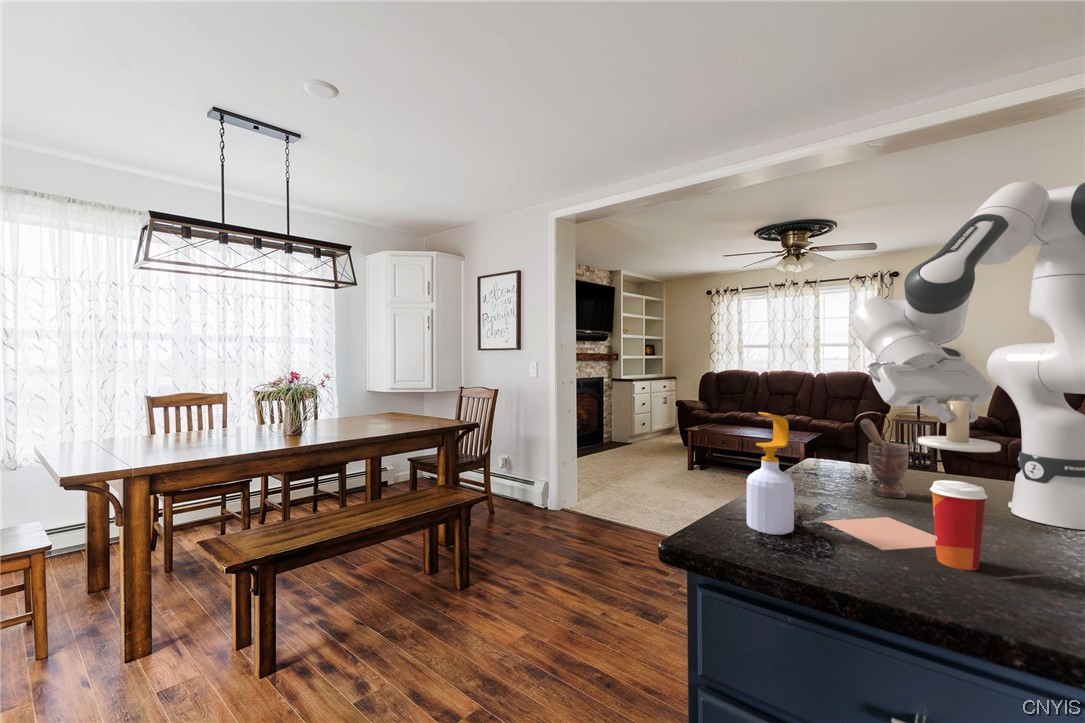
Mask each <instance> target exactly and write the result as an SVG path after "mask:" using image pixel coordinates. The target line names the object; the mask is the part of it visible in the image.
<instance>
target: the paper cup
mask: <svg viewBox="0 0 1085 723" xmlns="http://www.w3.org/2000/svg"><path fill="white" fill-rule="evenodd" d="M929 491H931V493H932V510H933V511H932V513H933V525H934V528H933V529H934V536H935V544H936V547H935V553H936V556H935V557H936V561H937V562H939V563H940V564H942V565H944V566H947V567H950V568H954V569H959V570H963V571H976V570H979V569H980V561H981V551H982V540H983V530H984V529H983V528H984V516H985V515H984V514H985V502H986V499H988V495H987V494H986V492H985V489H984V487H982V486H979V485H976V484H974V483H973V484H972V483H971V484H970V483H969V482H963V481H958V480H946V479H945V480H942V479H941V480H935V481H933V482H932V486H931V487H930V488H929Z"/></svg>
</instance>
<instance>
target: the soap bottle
mask: <svg viewBox="0 0 1085 723" xmlns="http://www.w3.org/2000/svg"><path fill="white" fill-rule="evenodd" d="M758 415H762V416H765V417H768V418H770V419H771V421H772V426H773V427H772V428H773V429H772V430H773V432H772V433H773V434H772V436H773V437H772V441H769V442H756V443H755V446H758V447H760V448H762V450H763V451H764V452H765V456H761V460H760V461H761V462H760V463H761V466H760V468H759V469H756V470H754V471H753V472H752V473H750V474H749V475H748V476H747V479H746V524H747V526H748V528H750V529H751V530H753V531H755V530H756V532H758V533H761V532H762V534H765V533H766V535H773V536H774V535H776V536H782V535H786V534H789V533H793V531H794V529H795V484H794V481H793V480H792V478H791V477H790V476H789V475H788V474H787V473H785V472H783V471H782V470H780V467H779V466H780V465H779V462H780V461H779V460H780V459H779V458H778V457H775V452H777V451H778V449H781V448H782V449H783V448H786V447H787V446H788V444H789V421H788V419H787V418H785V417H782V416H779V415H776V414H773V413H768V412H763V411H762V412H761V411H758Z"/></svg>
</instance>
